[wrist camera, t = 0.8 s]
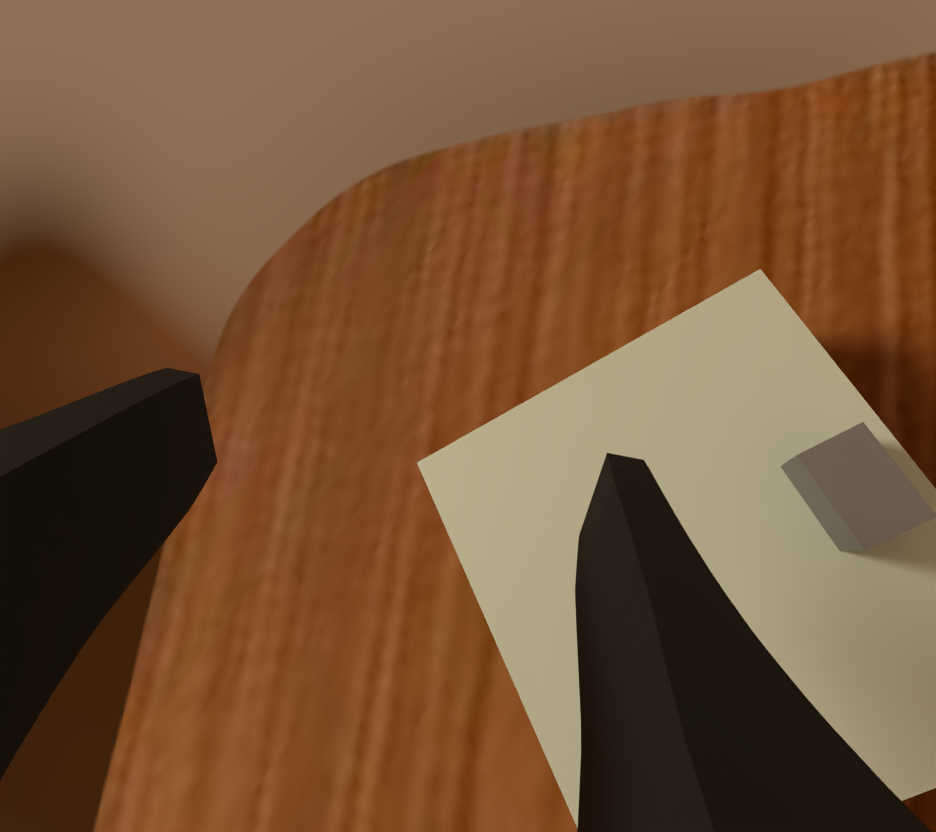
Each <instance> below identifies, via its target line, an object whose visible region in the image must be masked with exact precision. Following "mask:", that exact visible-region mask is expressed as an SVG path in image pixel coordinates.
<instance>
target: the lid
mask: <svg viewBox="0 0 936 832" xmlns="http://www.w3.org/2000/svg"><path fill="white" fill-rule="evenodd" d="M607 453H611V454H616V455H621V456H627V457H632V458H637V459H642V460H644V461H645V462H646V464H647V466H648V467H649V469H650V471H651V472H652V474H653V476H654V478H655V479H656V481H657V483H658V485H659V487H660V488H661V490H662V492H663V494H664V495H665V497H666V499H667V501H668V502H669V504H670V506H671V508H672V509H673V511H674V513H675V514H676V516H677V518H678V520H679V521H680V523H681V525H682V526H683V528H684V530H685V531H686V533H687V535H688V536H689V538H690V539H691V541H692V543H693V544H694V546H695V547H696V549H697V550H698V552H699V554H700V555H701V557H702V558H703V560H704V561H705V563H706V565H707V566H708V568H709V569H710V571H711V572H712V574H713V575H714V577H715V578H716V580H717V581H718V583H719V584H720V586H721V587H722V589H723V590H724V592H725V593H726V595H727V596H728V598H729V599H730V600H731V602H732V603H733V605H734V606H735V607H736V609H737V610H738V612H739V613H740V614H741V616H742V617H743V619H744V620H745V621H746V623H747V624H748V626H749V627H750V628H751V630H752V631H753V632H754V633H755V635H756V636H757V637H758V639H759V640H760V641H761V643H762V644H763V645H764V646H765V648H766V649H767V650H768V651H769V653H770V654H771V655H772V656H773V658H774V659H775V660H776V661H777V662H778V664H779V665H780V666H781V667H782V669H783V670H784V671H785V672H786V673H787V675H788V676H789V677H790V678H791V680H792V681H793V682H794V683H795V684H796V686H797V687H798V688H799V689H800V690H801V692H802V693H803V694H804V695H805V697H806V698H807V699H808V700H809V701H810V702H811V703H812V705H813V706H814V707H815V708H816V709H817V710H818V711H819V713H820V714H821V715H822V716H823V717H824V718H825V719H826V721H827V722H828V723H829V724H830V725H831V726H832V727H833V728H834V730H835V731H836V732H837V733H838V734H839V735H840V736H841V737H842V738H843V739H844V740H845V741H846V743H847V744H848V745H849V746H850V747H851V748H852V749H853V750H854V751H855V752H856V753H857V754H858V755H859V757H860V758H861V759H862V760H863V761H864V762H865V763H866V764H867V765H868V766H869V767H870V768H871V770H872V771H873V772H874V773H875V774H876V775H877V776H878V777H879V778H880V779H881V780H882V781H883V782H884V783H885V785H886V786H887V787H888V788H889V789H890V790H891V791H892V792H893V793H894V794H895V795H896V796H897V797H898V798H899V799H900V800H901V801H903V800H905V799H908V798H911V797H913V796H916V795H919V794H921V793H924V792H926V791H929V790H932V789H934V788H936V489H935V487H934V486H933V485H932V484H931V482H930V481H929V480H928V479H927V477H926V476H925V475H924V474H923V472H922V471H921V470H920V469H919V467H918V466H917V465H916V463H915V462H914V461H913V460H912V458H911V457H910V456H909V455H908V453H907V452H906V451H905V450H904V448H903V447H902V446H901V445H900V443H899V442H898V441H897V440H896V438H895V437H894V436H893V435H892V433H891V432H890V431H889V430H888V428H887V427H886V426H885V425H884V423H883V422H882V421H881V420H880V418H879V417H878V416H877V415H876V413H875V412H874V411H873V410H872V408H871V407H870V406H869V405H868V403H867V402H866V401H865V400H864V398H863V397H862V396H861V395H860V393H859V392H858V391H857V390H856V388H855V387H854V386H853V385H852V383H851V382H850V381H849V380H848V378H847V377H846V376H845V375H844V373H843V372H842V371H841V370H840V368H839V367H838V366H837V365H836V363H835V362H834V361H833V360H832V358H831V357H830V356H829V355H828V353H827V352H826V351H825V349H824V348H823V347H822V346H821V344H820V343H819V342H818V341H817V339H816V338H815V337H814V336H813V334H812V333H811V332H810V331H809V329H808V328H807V327H806V326H805V324H804V323H803V322H802V321H801V319H800V318H799V317H798V316H797V314H796V313H795V312H794V311H793V309H792V308H791V307H790V306H789V304H788V303H787V302H786V301H785V299H784V298H783V297H782V296H781V294H780V293H779V292H778V291H777V289H776V288H775V287H774V286H773V284H772V283H771V282H770V281H769V279H768V278H767V277H766V276H765V274H764V273H763V272H762V271H761V269H759V270H758V271H756V272H754V273H752V274H751V275H749V276H747V277H745V278H744V279H742V280H740V281H738V282H736V283H735V284H733V285H731V286H729V287H728V288H726V289H724V290H722V291H720V292H719V293H717V294H715V295H713V296H712V297H710V298H708V299H706V300H705V301H703V302H701V303H699V304H697V305H696V306H694V307H692V308H690V309H689V310H687V311H685V312H683V313H682V314H680V315H678V316H676V317H674V318H673V319H671V320H669V321H667V322H666V323H664V324H662V325H660V326H658V327H657V328H655V329H653V330H651V331H650V332H648V333H646V334H644V335H643V336H641V337H639V338H637V339H635V340H634V341H632V342H630V343H628V344H627V345H625V346H623V347H621V348H620V349H618V350H616V351H614V352H612V353H611V354H609V355H607V356H605V357H604V358H602V359H600V360H598V361H596V362H595V363H593V364H591V365H589V366H588V367H586V368H584V369H582V370H581V371H579V372H577V373H575V374H573V375H572V376H570V377H568V378H566V379H565V380H563V381H561V382H559V383H558V384H556V385H554V386H552V387H550V388H549V389H547V390H545V391H543V392H542V393H540V394H538V395H536V396H534V397H533V398H531V399H529V400H527V401H526V402H524V403H522V404H520V405H519V406H517V407H515V408H513V409H511V410H510V411H508V412H506V413H504V414H503V415H501V416H499V417H497V418H496V419H494V420H492V421H490V422H488V423H487V424H485V425H483V426H481V427H480V428H478V429H476V430H474V431H472V432H471V433H469V434H467V435H465V436H464V437H462V438H460V439H458V440H457V441H455V442H453V443H451V444H449V445H448V446H446V447H444V448H442V449H441V450H439V451H437V452H435V453H434V454H432V455H430V456H428V457H426V458H425V459H423V460H421V461H419V462H418V463H417V464H418V466H419V468H420V471H421V473H422V475H423V477H424V480H425V482H426V484H427V486H428V489H429V491H430V493H431V496H432V498H433V500H434V502H435V505H436V507H437V509H438V512H439V514H440V516H441V518H442V521H443V523H444V525H445V527H446V530H447V532H448V534H449V537H450V539H451V541H452V543H453V546H454V548H455V550H456V553H457V555H458V557H459V559H460V562H461V564H462V566H463V568H464V571H465V573H466V575H467V578H468V580H469V582H470V584H471V587H472V589H473V591H474V594H475V596H476V598H477V600H478V603H479V605H480V607H481V609H482V612H483V614H484V616H485V619H486V621H487V623H488V625H489V628H490V630H491V632H492V635H493V637H494V639H495V641H496V644H497V646H498V648H499V650H500V653H501V655H502V657H503V660H504V662H505V664H506V666H507V669H508V671H509V673H510V676H511V678H512V680H513V682H514V685H515V687H516V689H517V691H518V694H519V696H520V698H521V701H522V703H523V705H524V707H525V710H526V712H527V714H528V717H529V719H530V721H531V723H532V726H533V728H534V730H535V732H536V735H537V737H538V739H539V742H540V744H541V746H542V748H543V751H544V753H545V755H546V758H547V760H548V762H549V764H550V767H551V769H552V771H553V773H554V776H555V778H556V780H557V783H558V785H559V787H560V789H561V792H562V794H563V796H564V799H565V801H566V803H567V805H568V808H569V810H570V812H571V814H572V817H573V819H574V821H575V824H576V826H577V828H578V809H579V787H580V764H581V714H580V693H579V672H578V651H577V629H576V606H575V581H576V566H577V553H578V541H579V534H580V531H581V528H582V525H583V522H584V519H585V516H586V514H587V511H588V508H589V505H590V502H591V499H592V496H593V493H594V490H595V487H596V484H597V481H598V478H599V475H600V472H601V469H602V466H603V463H604V460H605V457H606V454H607Z"/></svg>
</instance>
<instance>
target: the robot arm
mask: <svg viewBox="0 0 936 832" xmlns="http://www.w3.org/2000/svg"><path fill="white" fill-rule="evenodd" d="M216 464H217V458H216V453H215V449H214V444H213V439H212V434H211V429H210V424H209V420H208V415H207V410H206V405H205V400H204V395H203V390H202V386H201V381H200V376H199V374H196V373H191V372H186V371H181V370H175V369H170V368H165V369H161V370H158V371H155V372H152V373H148V374H146V375H143V376H140V377H137V378H134V379H131V380H129V381H126V382H123V383H121V384H118V385H116V386H113V387H110V388H108V389H105V390H103V391H100V392H98V393H95V394H93V395H90V396H87V397H85V398H83V399H80V400H77V401H75V402H72V403H70V404H67V405H64V406H62V407H59V408H57V409H54V410H52V411H49V412H46V413H44V414H41V415H39V416H36V417H34V418H31V419H29V420H26V421H23V422H21V423H18V424H15V425H12V426H9V427H7V428H4V429H1V430H0V780H1V778H2V777H3V775H4V773H5V771H6V770H7V768H8V766H9V764H10V762H11V761H12V759H13V757H14V755H15V754H16V752H17V750H18V749H19V747H20V745H21V744H22V742H23V741H24V739H25V737H26V736H27V734H28V732H29V731H30V729H31V727H32V726H33V724H34V723H35V721H36V719H37V717H38V716H39V714H40V713H41V711H42V709H43V708H44V706H45V705H46V703H47V701H48V700H49V698H50V696H51V695H52V693H53V692H54V690H55V688H56V687H57V685H58V684H59V682H60V681H61V679H62V678H63V676H64V675H65V673H66V671H67V670H68V669H69V667H70V665H71V664H72V662H73V661H74V659H75V658H76V656H77V655H78V653H79V652H80V650H81V649H82V647H83V646H84V644H85V642H86V641H87V639H88V638H89V637H90V635H91V634H92V633H93V631H94V630H95V629H96V627H97V626H98V624H99V623H100V622H101V620H102V619H103V618H104V616H105V615H106V614H107V612H108V611H109V610H110V609H111V607H112V606H113V605H114V604H115V602H116V601H117V600H118V598H119V597H120V596H121V595H122V594H123V592H124V591H125V590H126V589H127V587H128V586H129V585H130V584H131V582H132V581H133V580H134V578H135V577H136V576H137V575H138V574H139V573H140V571H141V570H142V569H143V567H144V566H145V565H146V564H147V563H148V561H149V560H150V559H151V558H152V556H153V555H154V554H155V553H156V551H157V550H158V549H159V548H160V546H161V545H162V544H163V543H164V541H165V540H166V539H167V538H168V536H169V535H170V534H171V532H172V531H173V530H174V529H175V527H176V526H177V525H178V524H179V522H180V521H181V520H182V518H183V517H184V516H185V514H186V513H187V512H188V511H189V509H190V508H191V506H192V505H193V503H194V501H195V500H196V498H197V496H198V495H199V493H200V492H201V490H202V488H203V487H204V485H205V483H206V481H207V480H208V478H209V476H210V474H211V472H212V471H213V469H214V467H215V465H216ZM575 606H576V629H577V651H578V672H579V693H580V714H581V764H580V787H579V809H578V829H577V832H932V831H931V830H930V829H929V828H928V827H927V826H926V825H925V824H924V823H923V822H922V821H921V820H920V819H919V818H918V817H917V816H916V815H915V814H914V813H913V812H912V811H911V810H910V809H909V808H908V807H907V806H906V805H905V804H904V803H903V802H902V801H901V800H900V799H899V798H898V797H897V796H896V795H895V794H894V793H893V792H892V791H891V790H890V789H889V788H888V787H887V786H886V785H885V783H884V782H883V781H882V780H881V779H880V778H879V777H878V776H877V775H876V774H875V773H874V772H873V771H872V770H871V768H870V767H869V766H868V765H867V764H866V763H865V762H864V761H863V760H862V759H861V758H860V757H859V755H858V754H857V753H856V752H855V751H854V750H853V749H852V748H851V747H850V746H849V745H848V744H847V743H846V741H845V740H844V739H843V738H842V737H841V736H840V735H839V734H838V733H837V732H836V731H835V730H834V728H833V727H832V726H831V725H830V724H829V723H828V722H827V721H826V719H825V718H824V717H823V716H822V715H821V714H820V713H819V711H818V710H817V709H816V708H815V707H814V706H813V705H812V703H811V702H810V701H809V700H808V699H807V698H806V697H805V695H804V694H803V693H802V692H801V690H800V689H799V688H798V687H797V686H796V684H795V683H794V682H793V681H792V680H791V678H790V677H789V676H788V675H787V673H786V672H785V671H784V670H783V669H782V667H781V666H780V665H779V664H778V662H777V661H776V660H775V659H774V658H773V656H772V655H771V654H770V653H769V651H768V650H767V649H766V648H765V646H764V645H763V644H762V643H761V641H760V640H759V639H758V637H757V636H756V635H755V633H754V632H753V631H752V630H751V628H750V627H749V626H748V624H747V623H746V621H745V620H744V619H743V617H742V616H741V614H740V613H739V612H738V610H737V609H736V607H735V606H734V605H733V603H732V602H731V600H730V599H729V598H728V596H727V595H726V593H725V592H724V590H723V589H722V587H721V586H720V584H719V583H718V581H717V580H716V578H715V577H714V575H713V574H712V572H711V571H710V569H709V568H708V566H707V565H706V563H705V561H704V560H703V558H702V557H701V555H700V554H699V552H698V550H697V549H696V547H695V546H694V544H693V543H692V541H691V539H690V538H689V536H688V535H687V533H686V531H685V530H684V528H683V526H682V525H681V523H680V521H679V520H678V518H677V516H676V514H675V513H674V511H673V509H672V508H671V506H670V504H669V502H668V501H667V499H666V497H665V495H664V494H663V492H662V490H661V488H660V487H659V485H658V483H657V481H656V479H655V478H654V476H653V474H652V472H651V471H650V469H649V467H648V466H647V464H646V462H645V461H644V460H642V459H637V458H632V457H627V456H621V455H616V454H611V453H607V454H606V457H605V460H604V463H603V466H602V469H601V472H600V475H599V478H598V481H597V484H596V487H595V490H594V493H593V496H592V499H591V502H590V505H589V508H588V511H587V514H586V516H585V519H584V522H583V525H582V528H581V531H580V534H579V541H578V553H577V566H576V581H575Z"/></svg>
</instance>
